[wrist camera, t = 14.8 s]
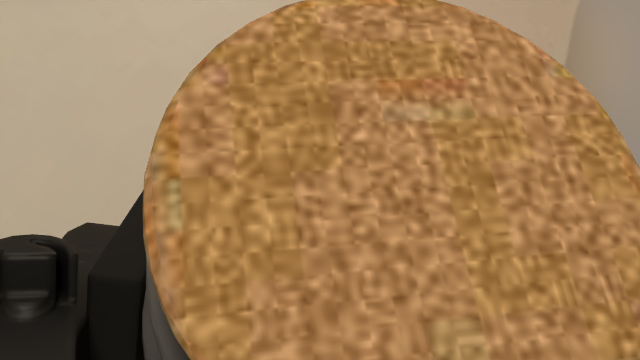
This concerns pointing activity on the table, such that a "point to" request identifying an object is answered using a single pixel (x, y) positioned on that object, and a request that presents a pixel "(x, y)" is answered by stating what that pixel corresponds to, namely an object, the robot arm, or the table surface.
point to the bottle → (388, 197)
